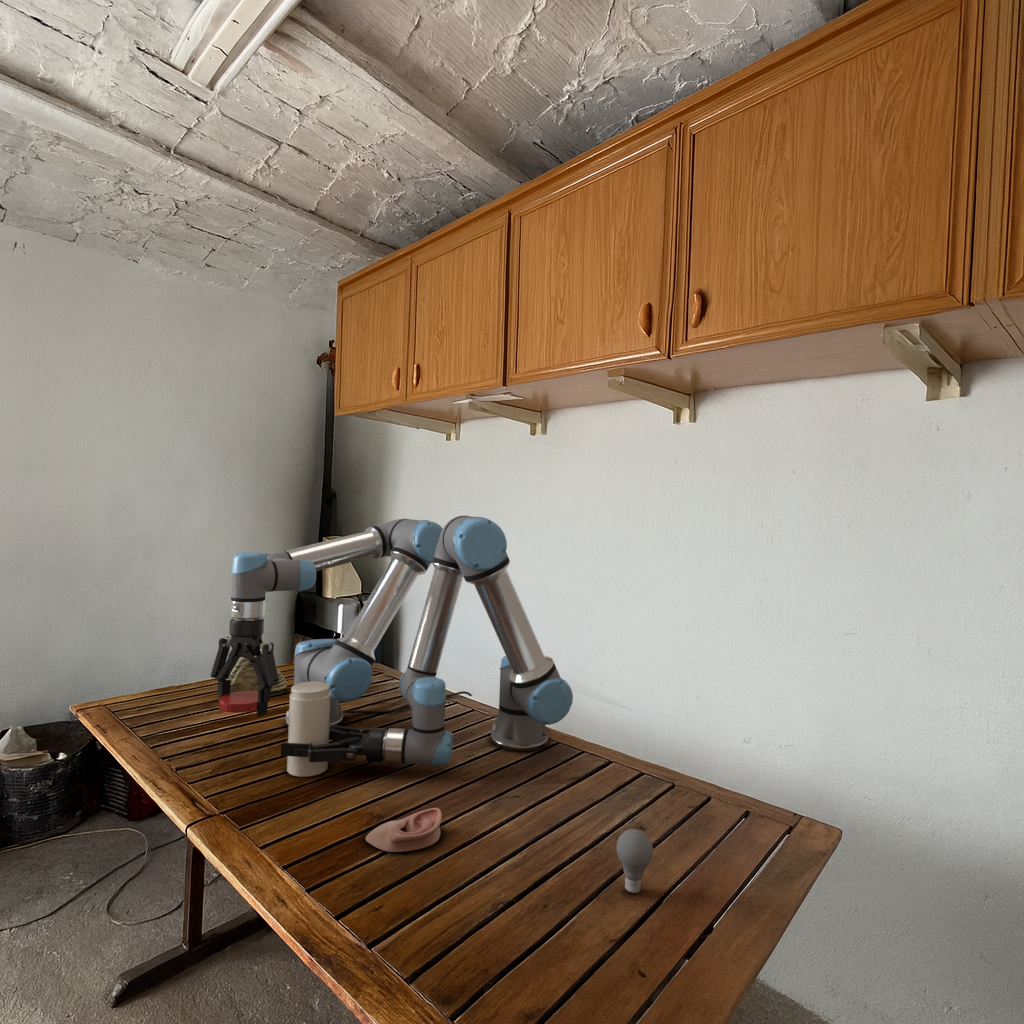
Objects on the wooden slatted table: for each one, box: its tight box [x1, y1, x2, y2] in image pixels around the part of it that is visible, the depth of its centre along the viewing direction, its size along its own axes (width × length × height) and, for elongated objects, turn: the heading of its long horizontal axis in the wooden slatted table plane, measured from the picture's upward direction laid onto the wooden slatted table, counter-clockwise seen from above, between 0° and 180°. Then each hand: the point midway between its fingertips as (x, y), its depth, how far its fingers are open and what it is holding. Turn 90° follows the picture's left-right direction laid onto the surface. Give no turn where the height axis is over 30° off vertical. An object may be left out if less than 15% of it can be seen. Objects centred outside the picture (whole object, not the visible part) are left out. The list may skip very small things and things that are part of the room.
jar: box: [286, 681, 331, 778], centre depth 147 cm, size 9×9×19 cm
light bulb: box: [615, 828, 654, 894], centre depth 106 cm, size 6×6×10 cm
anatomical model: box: [364, 807, 443, 853], centre depth 119 cm, size 13×4×12 cm
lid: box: [218, 691, 258, 714], centre depth 149 cm, size 10×10×2 cm
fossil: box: [226, 649, 288, 697], centre depth 198 cm, size 9×18×15 cm, turn 132°
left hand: (242, 711), depth 149 cm, fingers closed on lid, 10 cm apart
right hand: (289, 740), depth 147 cm, fingers closed on jar, 9 cm apart
